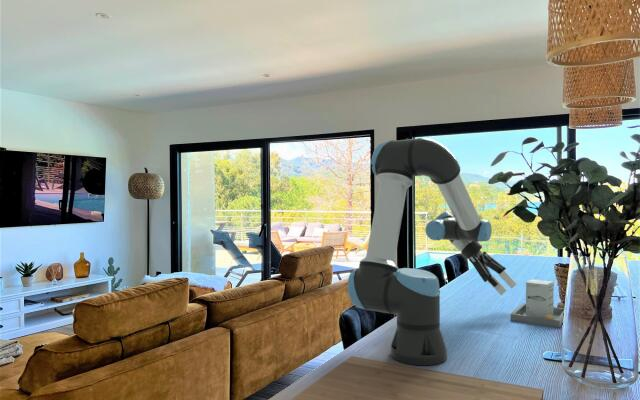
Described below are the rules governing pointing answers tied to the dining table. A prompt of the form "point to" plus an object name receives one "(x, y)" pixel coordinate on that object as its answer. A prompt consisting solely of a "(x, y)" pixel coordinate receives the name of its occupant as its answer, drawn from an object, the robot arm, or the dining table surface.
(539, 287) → the supplement box
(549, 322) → the tray
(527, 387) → the dining table surface
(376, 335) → the dining table surface
